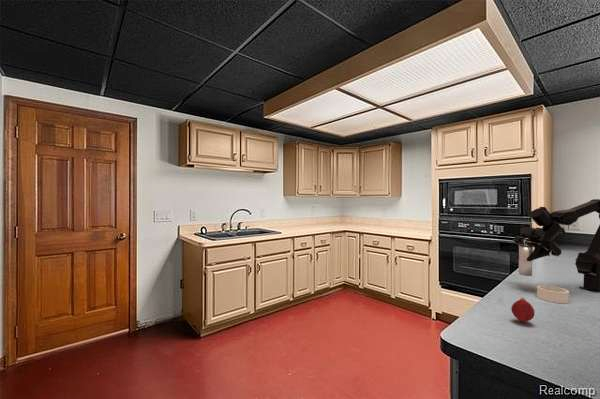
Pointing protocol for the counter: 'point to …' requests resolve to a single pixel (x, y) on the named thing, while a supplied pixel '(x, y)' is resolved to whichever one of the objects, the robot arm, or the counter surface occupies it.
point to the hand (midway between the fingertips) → (522, 259)
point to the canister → (525, 259)
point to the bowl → (553, 294)
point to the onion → (522, 310)
